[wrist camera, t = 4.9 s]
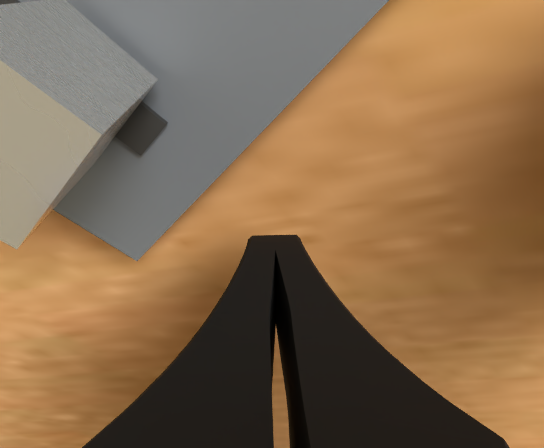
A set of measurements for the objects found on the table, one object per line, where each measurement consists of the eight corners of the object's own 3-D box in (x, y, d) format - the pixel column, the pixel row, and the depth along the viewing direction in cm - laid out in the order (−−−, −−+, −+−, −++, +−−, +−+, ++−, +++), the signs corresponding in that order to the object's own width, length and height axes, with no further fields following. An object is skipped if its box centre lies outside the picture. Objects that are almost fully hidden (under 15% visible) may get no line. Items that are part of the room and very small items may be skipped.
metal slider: (158, 79, 9) (101, 134, 6) (93, 164, 10) (17, 249, 7) (63, -2, 8) (-66, 11, 5) (4, 101, 9) (-132, 167, 6)
